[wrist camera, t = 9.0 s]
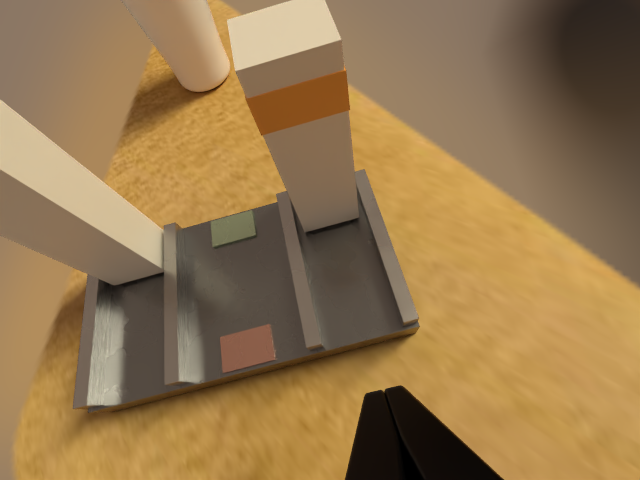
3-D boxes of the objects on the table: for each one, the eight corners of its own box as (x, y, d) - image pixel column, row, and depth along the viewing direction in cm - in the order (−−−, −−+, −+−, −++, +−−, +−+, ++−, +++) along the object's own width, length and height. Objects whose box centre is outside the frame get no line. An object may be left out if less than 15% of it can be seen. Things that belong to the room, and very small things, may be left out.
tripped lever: (360, 217, 21) (343, 40, 11) (304, 233, 21) (233, 72, 11) (347, 179, 23) (321, -10, 12) (295, 194, 23) (225, 19, 12)
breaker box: (415, 333, 20) (422, 321, 17) (113, 411, 21) (70, 413, 18) (366, 193, 25) (365, 166, 22) (122, 261, 25) (89, 243, 22)
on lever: (166, 271, 22) (-30, 150, 11) (114, 285, 22) (-127, 179, 11) (165, 232, 23) (-9, 92, 13) (116, 245, 23) (-96, 118, 13)
